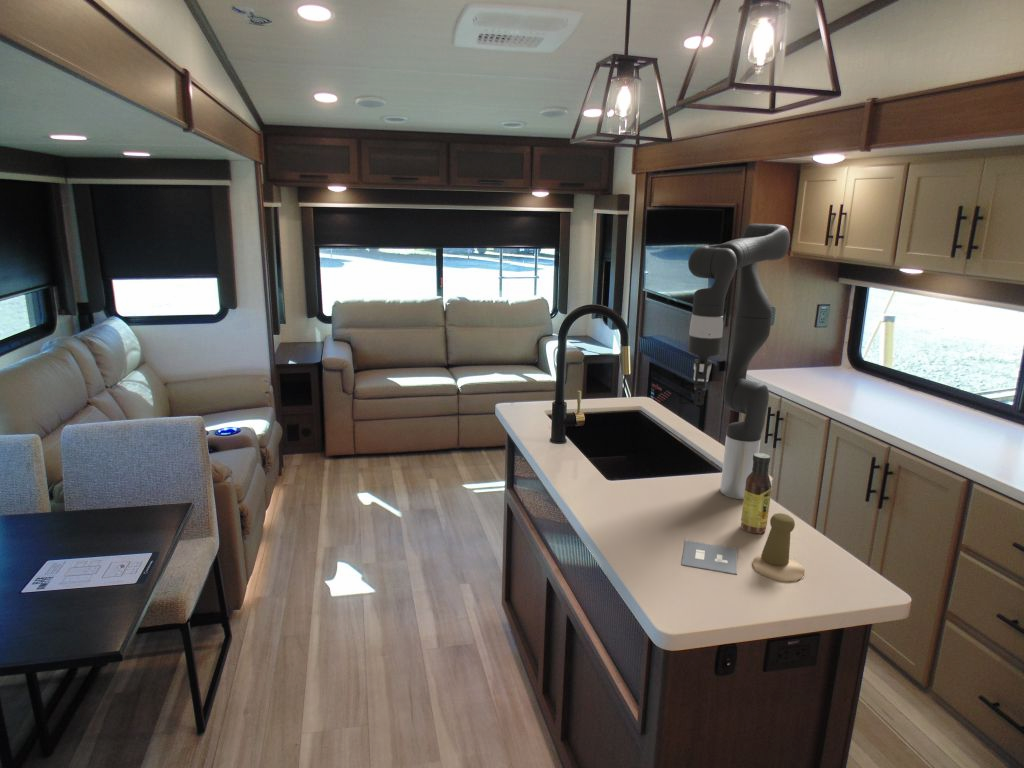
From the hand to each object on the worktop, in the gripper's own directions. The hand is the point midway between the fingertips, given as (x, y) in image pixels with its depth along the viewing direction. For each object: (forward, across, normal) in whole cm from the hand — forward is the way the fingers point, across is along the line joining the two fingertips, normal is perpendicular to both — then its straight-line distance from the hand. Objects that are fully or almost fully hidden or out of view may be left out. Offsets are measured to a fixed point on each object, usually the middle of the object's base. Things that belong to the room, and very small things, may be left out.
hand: (699, 400), depth 162 cm
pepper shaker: (+34, -10, -20) cm, 40 cm away
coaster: (+34, -13, -21) cm, 42 cm away
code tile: (+34, -13, -6) cm, 37 cm away
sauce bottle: (+34, +6, -16) cm, 38 cm away
